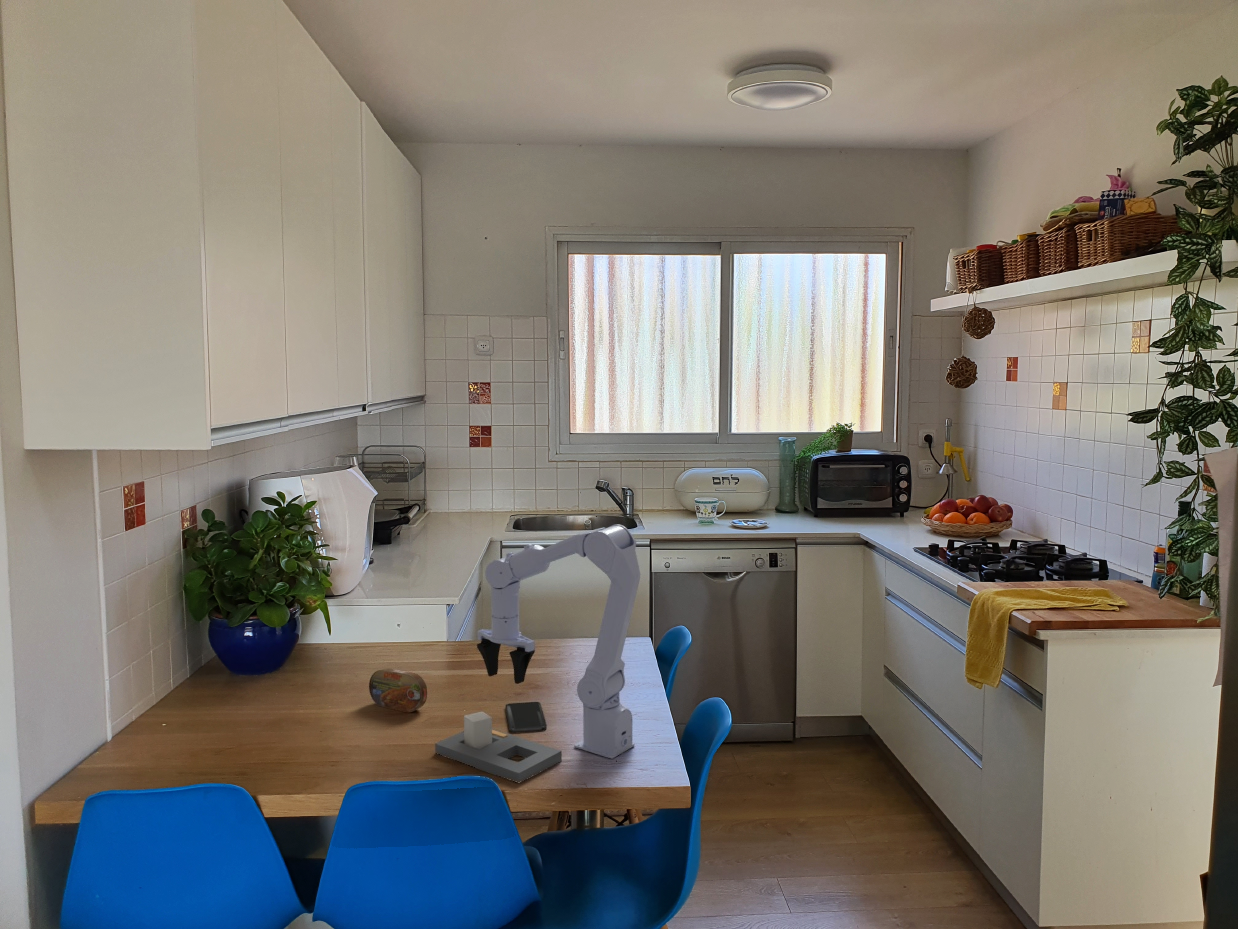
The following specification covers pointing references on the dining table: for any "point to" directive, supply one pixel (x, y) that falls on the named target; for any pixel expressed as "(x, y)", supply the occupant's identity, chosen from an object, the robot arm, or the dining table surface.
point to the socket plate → (501, 755)
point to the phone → (525, 717)
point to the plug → (477, 730)
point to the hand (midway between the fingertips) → (506, 678)
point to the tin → (398, 690)
